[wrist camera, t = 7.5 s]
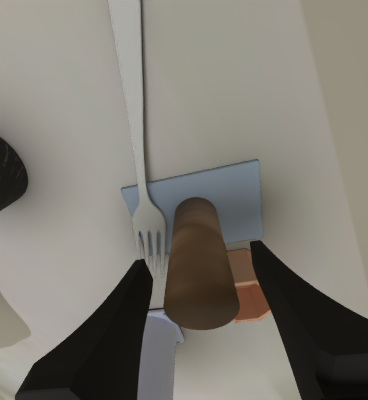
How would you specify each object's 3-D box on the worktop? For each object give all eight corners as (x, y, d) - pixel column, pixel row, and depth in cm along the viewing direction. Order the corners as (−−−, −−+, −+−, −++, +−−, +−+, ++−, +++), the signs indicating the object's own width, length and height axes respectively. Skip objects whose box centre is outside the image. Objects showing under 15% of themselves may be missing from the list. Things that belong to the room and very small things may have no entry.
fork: (147, -75, 10) (139, -109, 8) (168, 265, 21) (166, 278, 19) (86, -73, 10) (67, -106, 8) (139, 265, 21) (135, 278, 20)
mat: (149, 253, 21) (148, 255, 20) (121, 188, 17) (120, 189, 17) (261, 234, 19) (262, 237, 19) (257, 159, 16) (258, 160, 15)
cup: (214, 290, 23) (218, 324, 20) (205, 254, 21) (208, 286, 17) (264, 284, 23) (278, 318, 19) (262, 245, 20) (278, 277, 16)
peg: (181, 236, 19) (176, 334, 11) (168, 203, 17) (152, 290, 9) (220, 228, 19) (244, 324, 11) (211, 192, 17) (233, 275, 9)
